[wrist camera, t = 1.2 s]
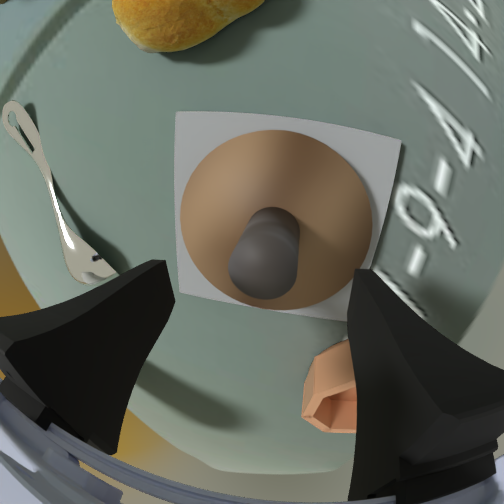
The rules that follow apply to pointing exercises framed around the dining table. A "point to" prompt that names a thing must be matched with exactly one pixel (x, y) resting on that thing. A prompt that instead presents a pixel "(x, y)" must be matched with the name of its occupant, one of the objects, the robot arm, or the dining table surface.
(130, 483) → the robot arm
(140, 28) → the bread roll
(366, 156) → the mat
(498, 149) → the dining table surface
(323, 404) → the bowl
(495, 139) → the dining table surface
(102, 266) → the silver metal utensil
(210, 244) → the lid
